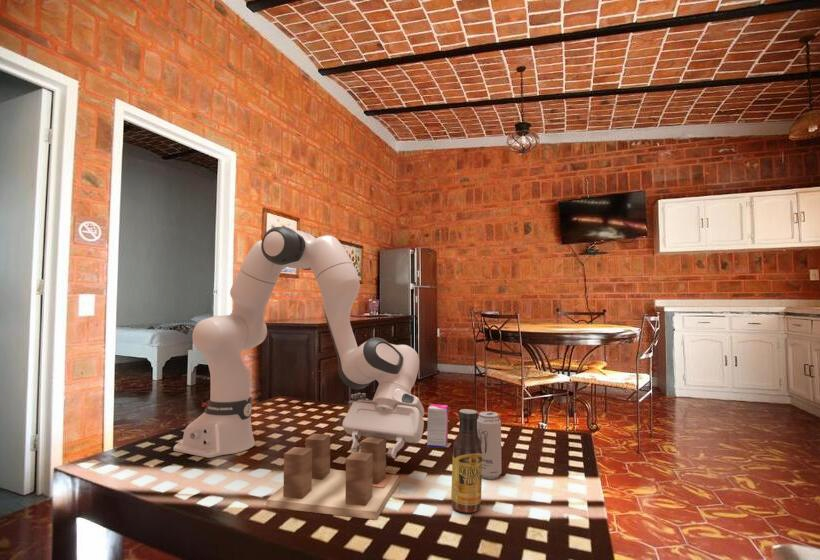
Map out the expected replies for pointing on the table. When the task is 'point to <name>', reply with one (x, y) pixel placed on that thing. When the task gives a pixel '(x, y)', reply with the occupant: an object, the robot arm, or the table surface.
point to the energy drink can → (490, 443)
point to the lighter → (357, 398)
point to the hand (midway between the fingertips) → (372, 454)
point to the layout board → (331, 482)
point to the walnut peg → (376, 456)
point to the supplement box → (437, 426)
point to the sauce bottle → (467, 464)
